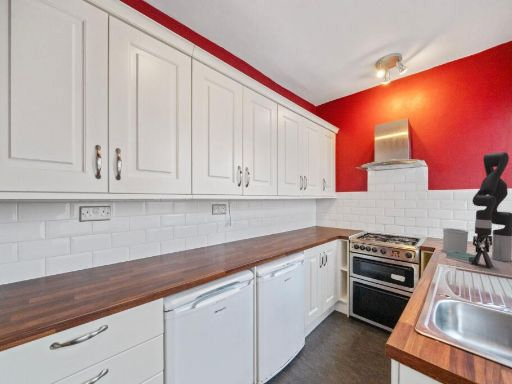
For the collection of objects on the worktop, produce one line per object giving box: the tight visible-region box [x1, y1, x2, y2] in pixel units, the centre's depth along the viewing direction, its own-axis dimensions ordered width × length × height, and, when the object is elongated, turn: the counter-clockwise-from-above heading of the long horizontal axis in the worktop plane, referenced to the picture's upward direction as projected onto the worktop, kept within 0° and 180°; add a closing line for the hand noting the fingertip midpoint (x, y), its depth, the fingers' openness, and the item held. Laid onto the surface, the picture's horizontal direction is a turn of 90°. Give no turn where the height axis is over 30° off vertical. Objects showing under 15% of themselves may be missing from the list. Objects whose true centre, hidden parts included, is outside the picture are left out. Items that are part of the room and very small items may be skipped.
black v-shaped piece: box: [470, 245, 494, 270], centre depth 145 cm, size 9×6×12 cm, turn 32°
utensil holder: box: [442, 227, 469, 253], centre depth 177 cm, size 15×15×18 cm
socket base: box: [445, 251, 481, 264], centre depth 158 cm, size 11×14×4 cm
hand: (482, 252), depth 145 cm, fingers open, 8 cm apart
